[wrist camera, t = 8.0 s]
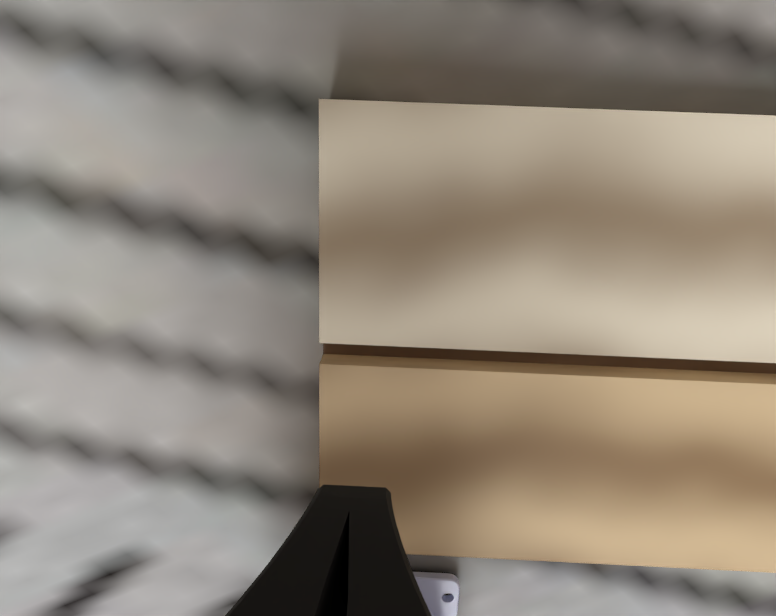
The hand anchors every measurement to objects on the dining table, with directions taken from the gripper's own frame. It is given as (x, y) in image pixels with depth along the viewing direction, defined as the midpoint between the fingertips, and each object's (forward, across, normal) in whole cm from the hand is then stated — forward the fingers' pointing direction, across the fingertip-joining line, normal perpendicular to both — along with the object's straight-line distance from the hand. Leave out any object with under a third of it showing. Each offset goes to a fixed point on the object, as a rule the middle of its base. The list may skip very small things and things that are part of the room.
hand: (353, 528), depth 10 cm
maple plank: (+10, -10, -4) cm, 15 cm away
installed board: (+10, -10, +4) cm, 15 cm away
